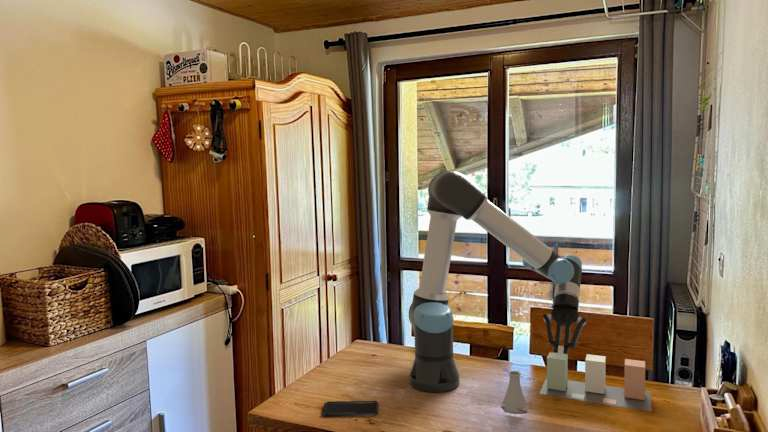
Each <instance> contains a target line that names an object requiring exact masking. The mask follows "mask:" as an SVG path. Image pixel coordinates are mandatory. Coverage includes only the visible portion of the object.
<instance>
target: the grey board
mask: <svg viewBox="0 0 768 432" xmlns="http://www.w3.org/2000/svg"><path fill="white" fill-rule="evenodd" d="M539 395H543V396H549V397H557V398H561V399H562V398H563V399H569V400H575V401H581V402H587V403H594V404H600V405H606V406H613V407H619V408H625V409H631V410H637V411H644V412H652V394H651V391H646V390H645V400H640V399H634V398H627V397H624V387H618V386H611V385H605V393H604V394H601V393H594V392H587V391H585V381H584V382H583V381H576V380H569V379H568V385H567V388H566V391H561V390H554V389H548V388H547V376H546V378H545V379H544V381H543V384H542V387H541V388H540V391H539Z"/></svg>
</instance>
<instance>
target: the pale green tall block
mask: <svg viewBox="0 0 768 432" xmlns="http://www.w3.org/2000/svg"><path fill="white" fill-rule="evenodd" d="M568 356H569V353H568V354H561V353H554V351H553V352H552V351H549V353H548V355H547V356H546V377H547V388H548V389H554V390H561V391H566V388H567V385H568V380H569V379H568V374H569V373H568V370H569V369H568V368H569V367H568V361H569V360H568V359H569V358H568Z"/></svg>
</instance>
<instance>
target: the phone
mask: <svg viewBox="0 0 768 432" xmlns="http://www.w3.org/2000/svg"><path fill="white" fill-rule="evenodd" d="M378 414H379V402H378V401H377V400H358V401H357V400H355V401H351V400H348V401H347V400H346V401H339V400H338V401H326V402H324V403H323V406H322V410H321V416H322V417H323V418H348V417H349V418H351V417H352V418H353V417H354V418H356V417H358V418H359V417H360V418H361V417H364V416H366V417H368V418H369V417H376V415H377V416H378Z"/></svg>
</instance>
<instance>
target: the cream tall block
mask: <svg viewBox="0 0 768 432" xmlns="http://www.w3.org/2000/svg"><path fill="white" fill-rule="evenodd" d="M606 358H607V356H604V355H595V354H588V353H587V354H586V356H585V360H584V361H585V362H584V364H585V365H584V367H585V368H584V371H585V372H584V382H585V391H587V392H594V393H601V394H604V393H605V386H606V371H607V370H606V369H607V368H606V367H607V365H606V363H607V362H606V361H607V360H606Z"/></svg>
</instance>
